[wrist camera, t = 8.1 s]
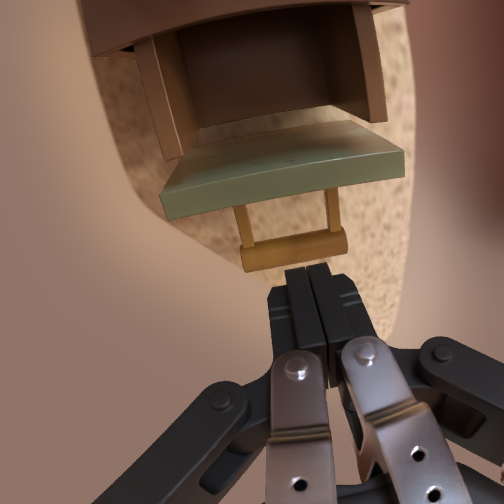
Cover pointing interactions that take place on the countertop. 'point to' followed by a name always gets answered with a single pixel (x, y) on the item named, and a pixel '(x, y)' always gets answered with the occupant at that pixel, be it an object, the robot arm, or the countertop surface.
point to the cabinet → (178, 18)
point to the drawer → (268, 102)
